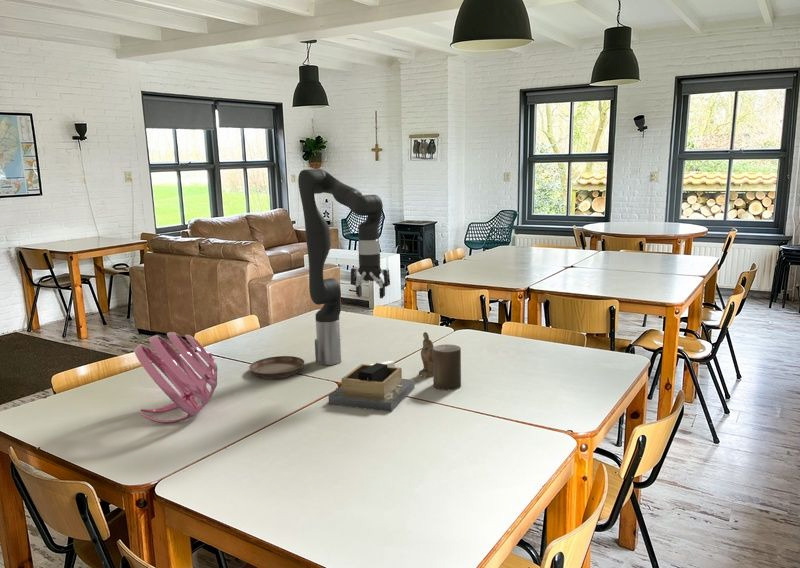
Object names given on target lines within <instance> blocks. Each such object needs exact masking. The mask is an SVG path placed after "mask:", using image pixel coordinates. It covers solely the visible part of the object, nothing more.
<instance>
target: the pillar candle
mask: <svg viewBox="0 0 800 568" xmlns="http://www.w3.org/2000/svg"><path fill="white" fill-rule="evenodd" d="M461 350H462V348H461V346H459V345H456V344H448V343H447V344H439V345H436V346H434V347H433V378H432V379H433V381H432V382H433V387H434V388H436V389H438V390H441V391H442V390H443V391H453V390H458V389H460V388H461V387H462V356H461V354H462V352H461Z"/></svg>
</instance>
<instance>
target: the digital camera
mask: <svg viewBox="0 0 800 568" xmlns="http://www.w3.org/2000/svg"><path fill="white" fill-rule="evenodd" d="M381 363H382V362H376V363H373V364H374V365H372V366H370V367H369V368H367V369H362V370H360V372H359V375H358V379H359V380H367V381H377V382H383V381H384V380H385V379H386V378H388V371H387V364H381Z"/></svg>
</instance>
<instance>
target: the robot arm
mask: <svg viewBox="0 0 800 568" xmlns="http://www.w3.org/2000/svg"><path fill="white" fill-rule="evenodd" d="M297 183H298V190H299V191H298V192H299V196H300V201H301V206H302V211H303V219H304V220H303V221H304V229H305V240H306V247H307V258H308V275H309V276H308V278H309V279H308V287H309V288H308V289H309V294H310V296H309V297H310V298H311V301H312V302H313V303H314V304H315V305H323V306H322V307H321V308H320V309H318V311H316V313H315V336H316V338H315V339H314V353H315V354H314V355H315V363H316V364H319V365H323V366H333V365H338V364H340V363H341V362H342V348H341V347H342V346H341V328H340V326H341V325H340V314H341V310H342V309H341V308H342V306H341V305H342V293H341V292H342V291H341V290H342V289H341V285H340V283H339V281H338V280H337V279H336V278H333V277H331V278H330V277H329V278H326V279H325V278H324V268H325V267H324V266H325V262H326V260H327V258H328V256H329V254H330V253H329V252H330V250H331V246H332V241H331V240H332V239H331V230H330V227H329V224H328V222H327V221H326V219H325V218H324V216H323V215H322V213H321V212H320V211H319V209H318V206H317V202H316V198H315V195H317V194H318V195H319V194H330V195H332V196H333V199H334V200H335V201H336V202H338V203H339V204H340V205H343V206H344V207H347V208H349V210H350V211H351V212H352V213H353V214H355V215H357V216H361V217H365V216H366V220H365V221H363V222H360V223H359V225H358V245H357V247H358V267H356V266H355V267H352V268H350V285H353V286H354V287H355V295H356V296H357V298H360V297H362V296H363V293H362V289H363V288H362V284H363V283H364V281H366V282H369V281H370V282H375V283H376V284H377V285H378V286H379V299H384V297H385V296H386V287H388V286H390V285H391V278H390V277H391V276H390V269H389V268H385V269H382V268H381V246H380V238H379V237H380V236H379V235H380V233H379V232H380V231H379V230H380V229H379V227H380V224H381V223H380V222H381V218H382V213H383V209H384V206H383V204H384V203H383V201H382V199H381V197H380V196H379V195H377V194H364V195H363V194H362V192H361V191H360V190H358V189H357V188H355V187H353V186H350V185H348V184H345V183H343V182H342V181H340V180H339V179H337V178H336V177H334V176H333V175H332V174H331V173H329V172H327V171H326V170H324V169H322V168H311V169H310V168H309V169H303V170H302V169H301V171H300V172H299V174H298V179H297ZM357 274H359V275H360V276H359V278H358V279H357ZM381 274H382V276H383V278H382V277H381V276H380V275H381Z"/></svg>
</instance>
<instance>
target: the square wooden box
mask: <svg viewBox="0 0 800 568" xmlns="http://www.w3.org/2000/svg"><path fill="white" fill-rule="evenodd" d="M370 366H372V365H370V364H367V363H366V364H364V363H361V364H360V365H358V366H357V367H355V368H354V369H352V371H350V372H348V374H346V375H344V376H343V377H342V378H341V385H340V386H338V388H336V389H335V390H334V391H332V392H331V393H330V394H328V396H327V397H328V405H332V404H334V406H340V405H342V406H341V407H348V406H349V408H350V406H351V408H356V407H358V408H357V409H364V408H366V409H365V410H372V409H373V410H372V411H380V410H381V411H380V412H382V411H383V412H388V411H389V412H390V413H391V412H393V411H394V410H395V409H396V408H397V407H398V406H399V405H400V404H401V403H402V402H403V401H404V400H405V399H404V398H406V397H407V396H408V395H409V394H410V393H411V392H412V391H413V390H415V389H416V388H415V379H408V378H403V373H402V367H387V371H388V378H386V379H385V380H384V381H383V382H377V381H367V380H359V379H358V375H359V372H360V370H362V369H367V368H369V367H370ZM403 399H404V400H403ZM402 400H403V401H402ZM401 401H402V402H401ZM400 402H401V403H400ZM399 403H400V404H399ZM398 404H399V405H398Z"/></svg>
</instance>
